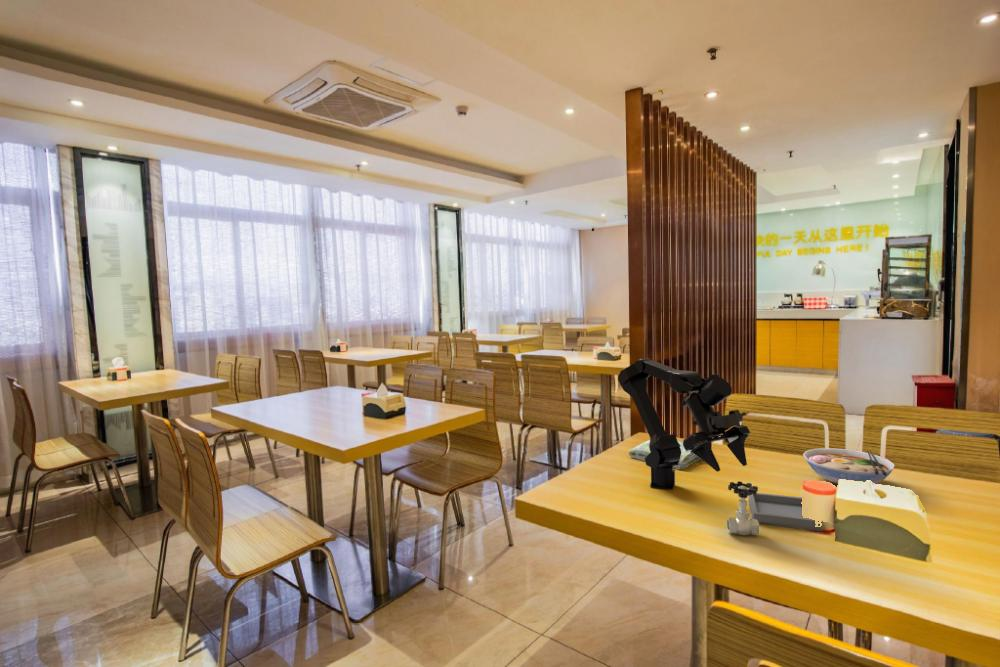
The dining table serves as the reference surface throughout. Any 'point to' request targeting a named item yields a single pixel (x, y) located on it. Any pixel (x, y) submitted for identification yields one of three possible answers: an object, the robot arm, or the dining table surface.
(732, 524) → the valve
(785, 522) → the parts tray
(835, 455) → the ramen bowl
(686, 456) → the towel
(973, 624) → the dining table surface
